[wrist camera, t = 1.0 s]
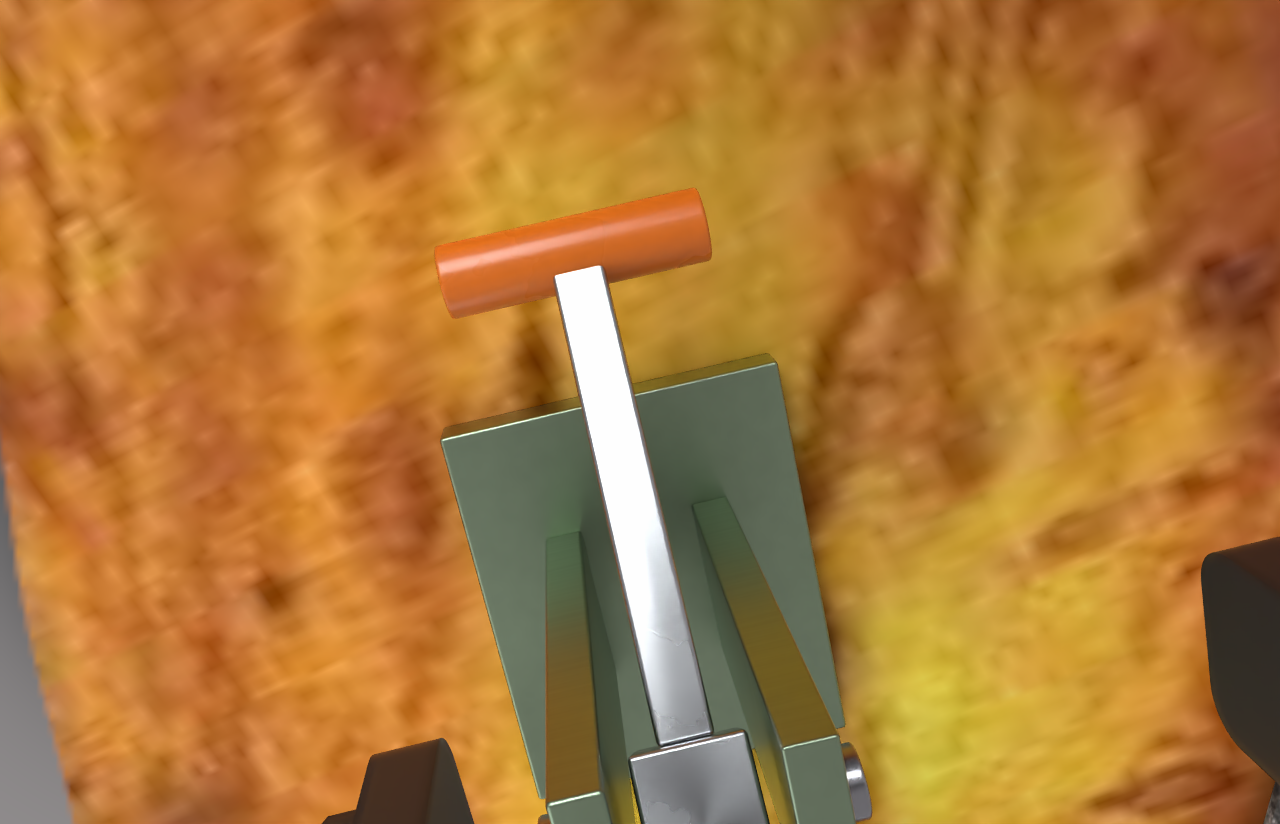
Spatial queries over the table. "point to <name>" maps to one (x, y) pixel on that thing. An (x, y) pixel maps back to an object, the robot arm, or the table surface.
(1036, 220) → the table surface
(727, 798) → the lever
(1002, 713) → the table surface
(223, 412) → the table surface
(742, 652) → the bracket
